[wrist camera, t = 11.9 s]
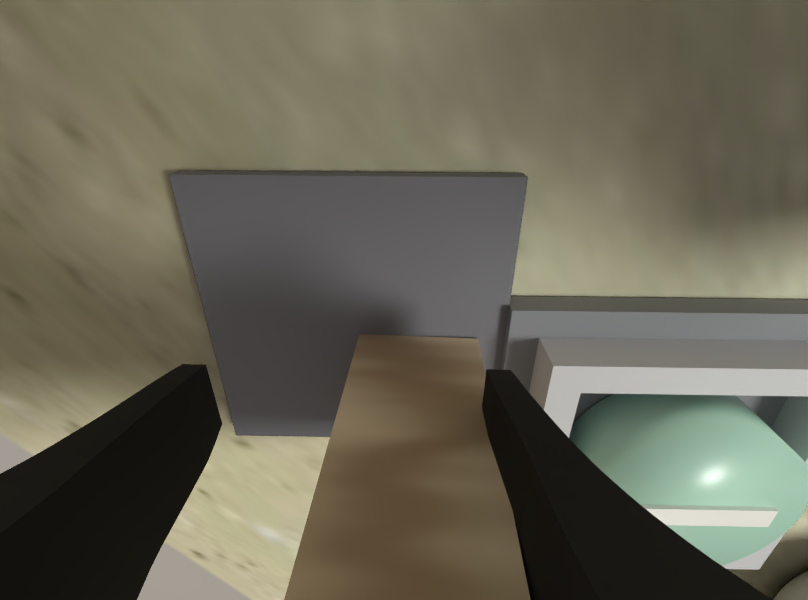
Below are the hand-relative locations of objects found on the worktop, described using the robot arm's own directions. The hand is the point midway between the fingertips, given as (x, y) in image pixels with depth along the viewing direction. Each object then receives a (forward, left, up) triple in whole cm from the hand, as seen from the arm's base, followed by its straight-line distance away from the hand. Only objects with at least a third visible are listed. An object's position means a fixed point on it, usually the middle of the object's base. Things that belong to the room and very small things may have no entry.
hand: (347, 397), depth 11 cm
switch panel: (-11, +5, -4) cm, 13 cm away
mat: (0, 0, -4) cm, 4 cm away
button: (-11, +5, -3) cm, 12 cm away
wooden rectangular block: (-2, +2, -3) cm, 4 cm away
